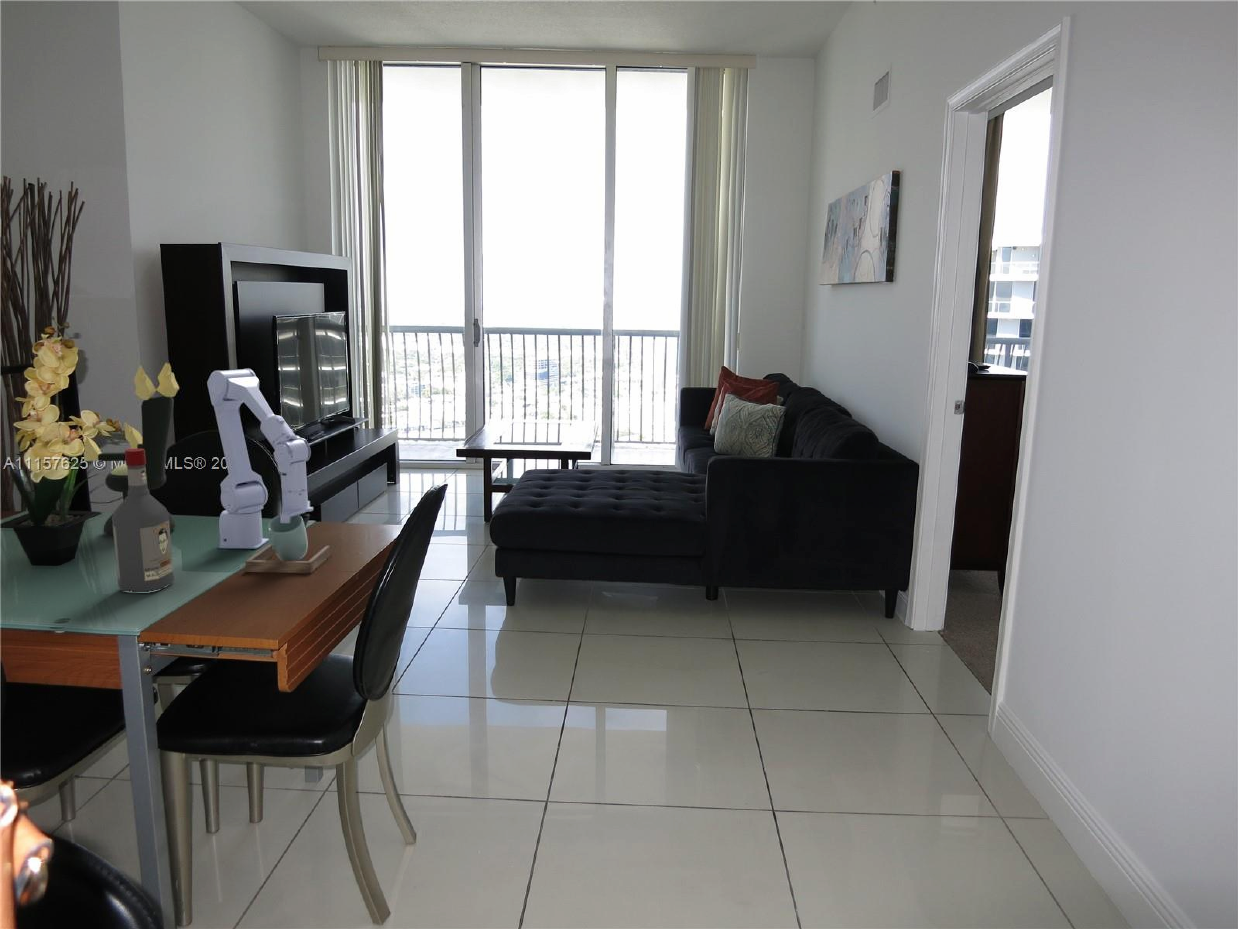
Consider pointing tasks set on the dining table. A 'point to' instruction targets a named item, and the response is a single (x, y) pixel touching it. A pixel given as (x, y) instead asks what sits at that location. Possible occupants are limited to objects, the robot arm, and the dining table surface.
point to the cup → (288, 538)
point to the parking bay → (284, 562)
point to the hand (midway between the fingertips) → (297, 544)
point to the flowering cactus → (143, 437)
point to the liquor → (141, 533)
